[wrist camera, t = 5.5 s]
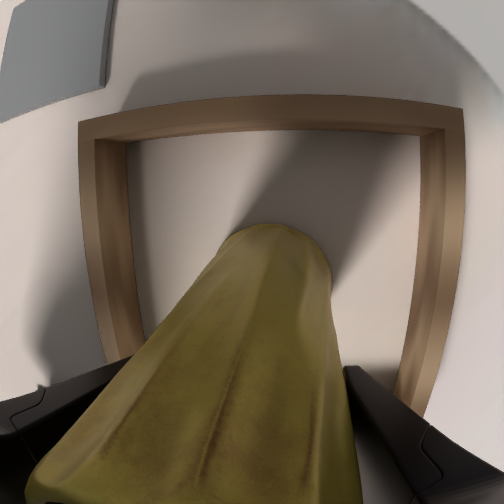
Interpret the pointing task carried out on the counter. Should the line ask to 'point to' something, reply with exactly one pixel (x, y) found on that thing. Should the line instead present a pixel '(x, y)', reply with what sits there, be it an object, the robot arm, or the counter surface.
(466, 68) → the counter surface
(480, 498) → the robot arm
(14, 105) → the slate mat
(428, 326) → the wooden frame
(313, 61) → the counter surface
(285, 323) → the vase
